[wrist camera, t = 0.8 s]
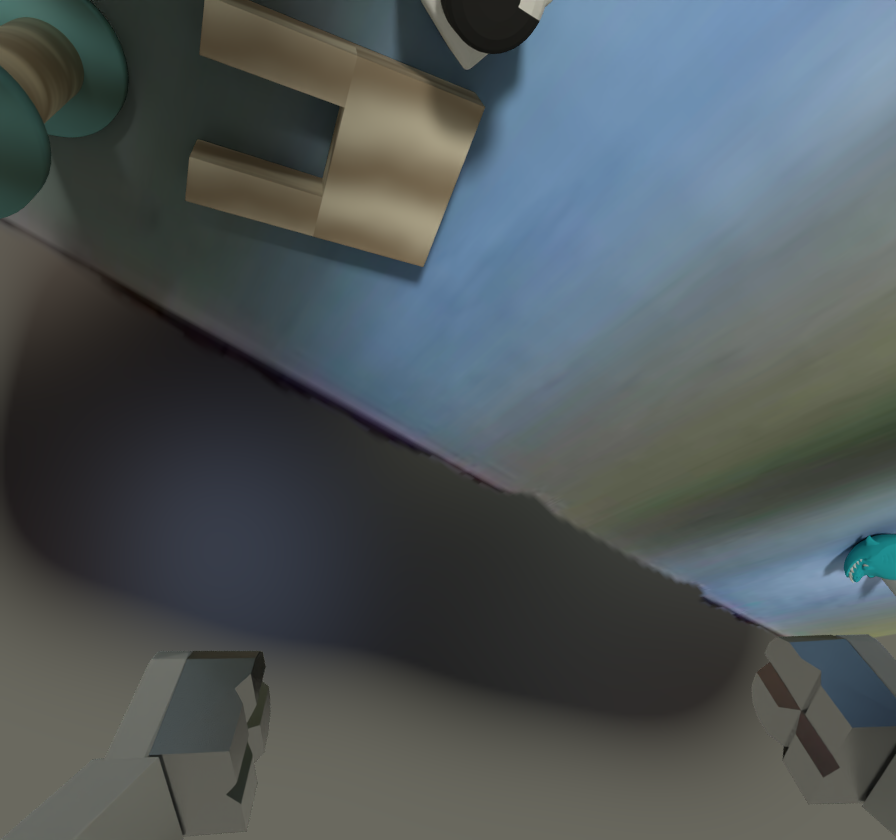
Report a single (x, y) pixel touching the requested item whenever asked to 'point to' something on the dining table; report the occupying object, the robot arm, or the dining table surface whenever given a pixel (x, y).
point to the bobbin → (52, 86)
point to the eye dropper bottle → (890, 585)
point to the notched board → (339, 137)
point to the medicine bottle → (484, 25)
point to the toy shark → (872, 558)
